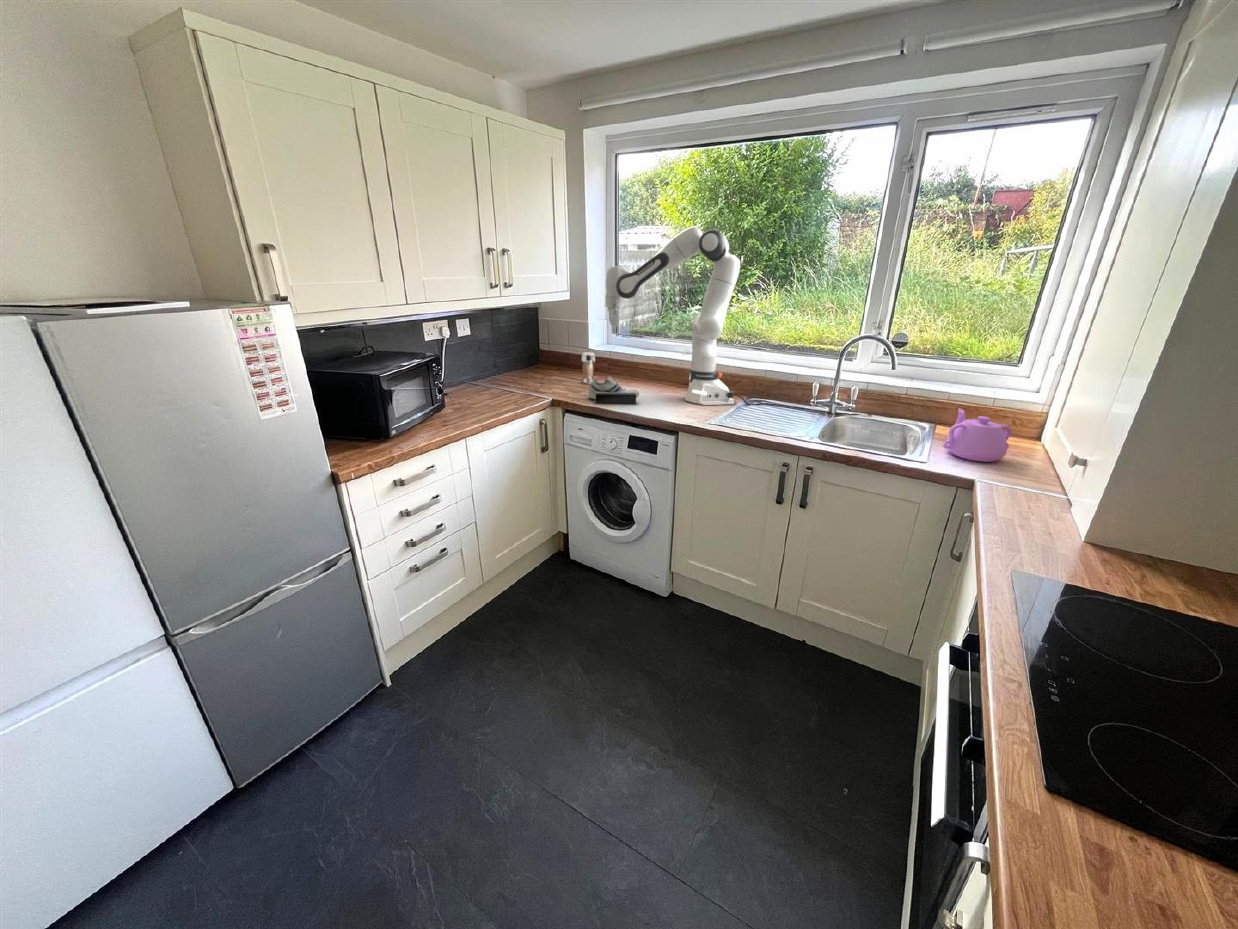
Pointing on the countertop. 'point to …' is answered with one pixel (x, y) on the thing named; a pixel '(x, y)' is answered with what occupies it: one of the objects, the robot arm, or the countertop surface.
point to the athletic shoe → (606, 387)
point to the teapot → (977, 439)
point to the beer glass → (588, 367)
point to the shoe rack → (615, 397)
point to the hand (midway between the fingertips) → (613, 333)
